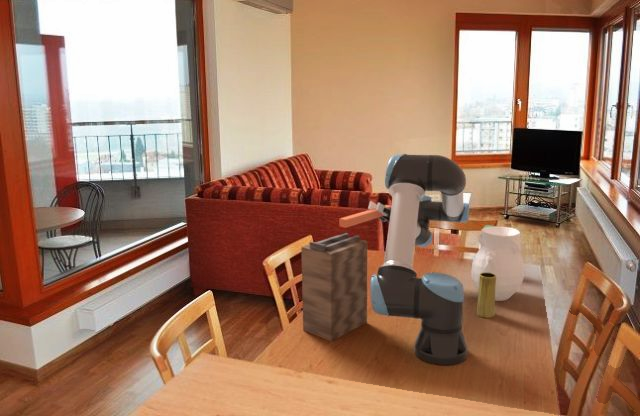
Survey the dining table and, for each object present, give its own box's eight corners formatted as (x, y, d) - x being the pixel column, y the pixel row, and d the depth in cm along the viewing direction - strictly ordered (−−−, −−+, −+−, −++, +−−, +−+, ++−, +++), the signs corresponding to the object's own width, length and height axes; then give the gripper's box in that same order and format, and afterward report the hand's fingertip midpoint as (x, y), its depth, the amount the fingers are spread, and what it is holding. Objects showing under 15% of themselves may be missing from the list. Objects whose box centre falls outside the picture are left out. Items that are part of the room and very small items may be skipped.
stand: (339, 313, 195) (338, 229, 188) (366, 322, 187) (367, 235, 180) (303, 330, 182) (301, 240, 175) (331, 341, 174) (330, 247, 167)
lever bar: (386, 212, 201) (386, 204, 200) (392, 213, 199) (392, 205, 198) (339, 226, 182) (339, 218, 181) (345, 227, 180) (345, 219, 180)
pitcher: (533, 298, 206) (538, 231, 200) (500, 309, 196) (504, 240, 190) (492, 283, 221) (495, 221, 215) (459, 293, 211) (462, 229, 205)
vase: (498, 314, 192) (500, 274, 189) (489, 319, 188) (492, 279, 185) (481, 309, 196) (483, 270, 193) (473, 314, 192) (475, 275, 189)
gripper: (421, 240, 204) (389, 219, 186) (386, 232, 214) (352, 212, 197) (427, 220, 205) (396, 198, 188) (392, 214, 215) (359, 192, 198)
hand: (373, 205), depth 192 cm, fingers closed on lever bar, 3 cm apart
